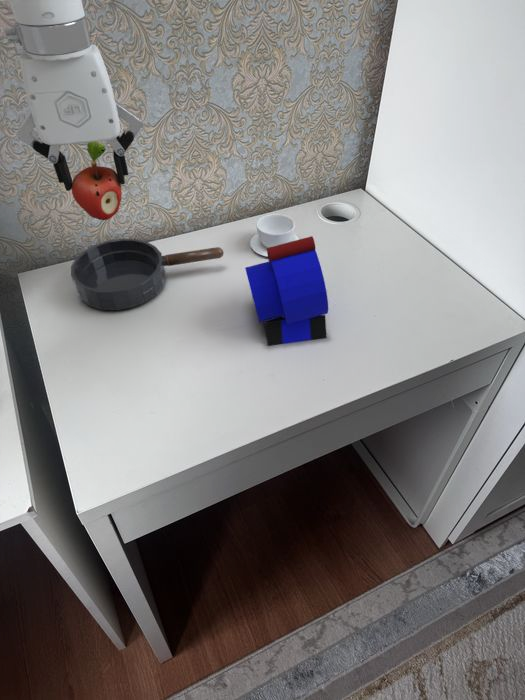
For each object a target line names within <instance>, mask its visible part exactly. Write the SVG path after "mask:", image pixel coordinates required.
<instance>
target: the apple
mask: <svg viewBox="0 0 525 700" xmlns="http://www.w3.org/2000/svg"><path fill="white" fill-rule="evenodd" d="M86 144H87V145H86V146H87V147H86V151H87V154H88V155H89V156H90V158H91V160H92V161H91V162H90V165H91V166H88V167H86V168H84V169H82V170H80V171H79V172H78V173H77V174H76V175H75V176H74V177H73V178H72V189H71V193H72V197H73V199H74V201H75V203H77V204H78V206H79V207H81V209H83V210H84V211H85V212H86V213H87V214H88V216H89V217H91V218H93V219H96V220H99V221H109V220H110V219H111V218H113V217H114V216H115V215H116V214H118V212H119V210H120V206H121V202H122V195H123V194H122V193H123V191H122V185H121V184H120V183H119V179H118V175H117V171H115V169H113V168H110V167H108V166H101V165H97V161H96V160H97V159H99V158H100V157H101V156H102V155H103V154H104V153H106V150H107V148H106V145H104V144H102V143H101V142H100V141H99V142H90V143H86Z"/></svg>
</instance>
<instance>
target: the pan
mask: <svg viewBox="0 0 525 700" xmlns="http://www.w3.org/2000/svg"><path fill="white" fill-rule="evenodd" d="M162 256H163V255H162V253H161V251H160V250H159V248H157V246H156V245H154V244H152V243H151V242H148V241H145V240H141V239H137V238H117V239H110V240H105V241H103V242H100V243H96V244H94V245H93V246H91V247H90V246H89V248H87V249H85V250H83V251H82V252H81V253H80V254H79V255H77V256H76V258H75V259H74V261H73V262H72V264H71V266H70V276H71V280H72V282H73V285H74V287H75V291H76V293H77V295H78V297H79V298H80V300H81V301H82V302H83V303H85V304H86V305H88V306H89V307H92V308H95V309H99V310H103V311H119V310H120V311H121V310H126V309H131V308H134V307H137V306H140V305H143V304H144V303H145V304H146V303H147V302H148V301H150V300H151V299H153V298H154V297H156V296H157V295H158V294H159V293H160V291H161V290H163V288H164V285H165V283H166V279H167V276H166V271H165V270H166V269H165V266H164V265H163V260H162Z"/></svg>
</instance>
